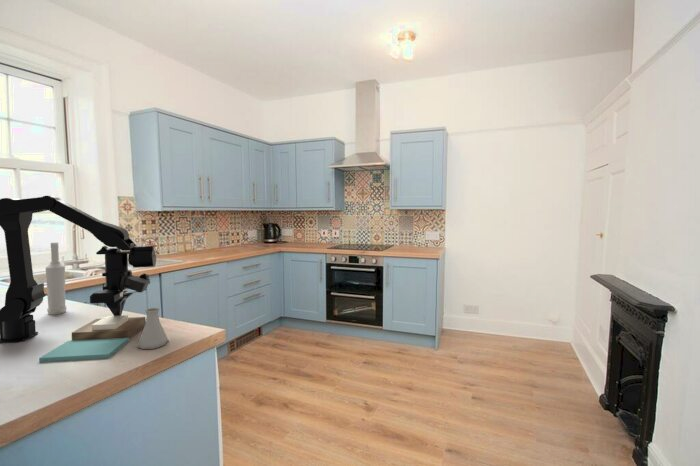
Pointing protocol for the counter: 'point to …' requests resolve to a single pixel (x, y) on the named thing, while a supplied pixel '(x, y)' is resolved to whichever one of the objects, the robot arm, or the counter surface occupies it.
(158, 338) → the flask
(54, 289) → the bottle
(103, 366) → the counter surface
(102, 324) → the cream tile
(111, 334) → the walnut deck
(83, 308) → the counter surface
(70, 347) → the teal mat
